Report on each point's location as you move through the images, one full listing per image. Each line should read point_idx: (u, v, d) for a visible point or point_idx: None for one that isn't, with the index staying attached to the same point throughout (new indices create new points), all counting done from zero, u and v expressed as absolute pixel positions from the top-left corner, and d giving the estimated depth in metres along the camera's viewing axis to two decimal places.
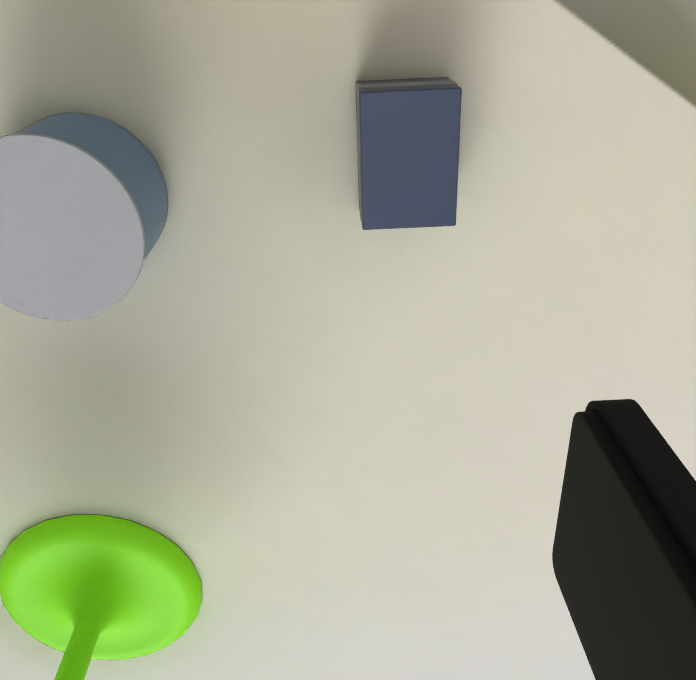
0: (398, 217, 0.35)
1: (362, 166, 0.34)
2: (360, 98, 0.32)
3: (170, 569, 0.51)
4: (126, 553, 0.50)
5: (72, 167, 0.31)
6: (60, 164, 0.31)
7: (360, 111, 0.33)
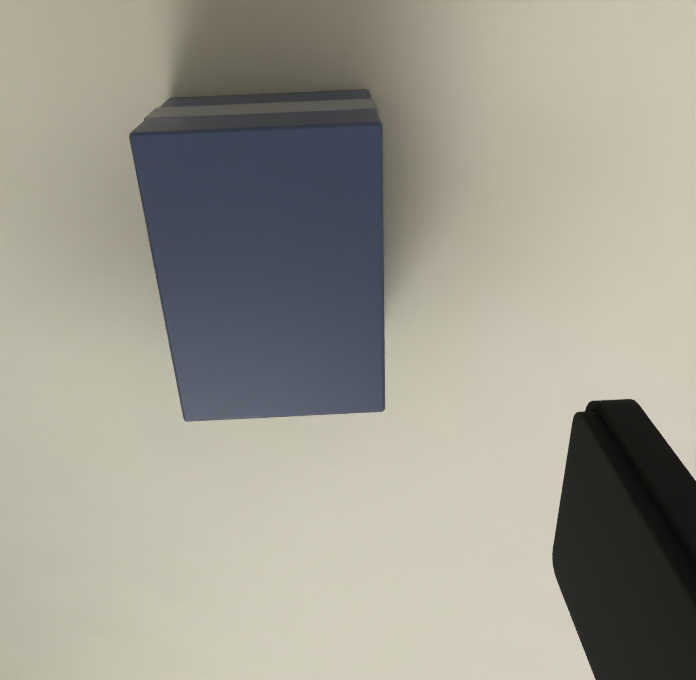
0: (257, 398, 0.16)
1: (162, 298, 0.15)
2: (133, 148, 0.13)
3: None
4: None
5: None
6: None
7: (138, 178, 0.13)
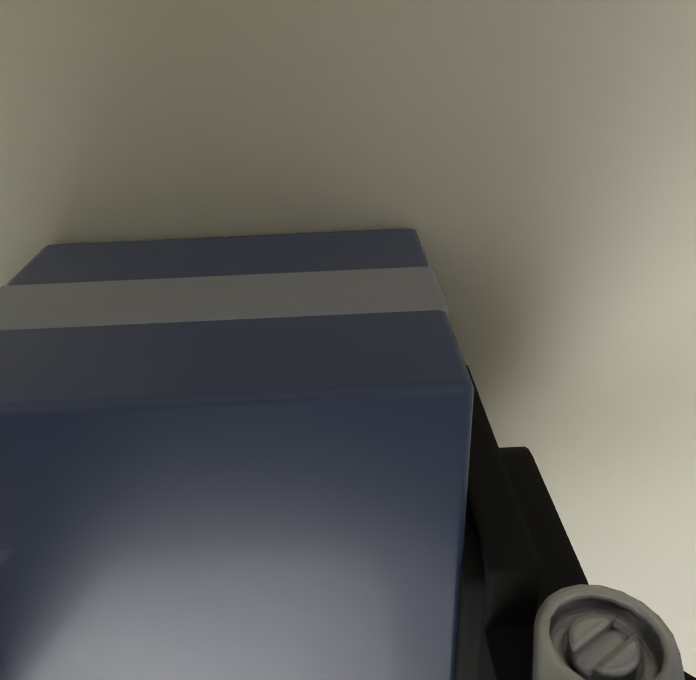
0: None
1: None
2: None
3: None
4: None
5: None
6: None
7: None
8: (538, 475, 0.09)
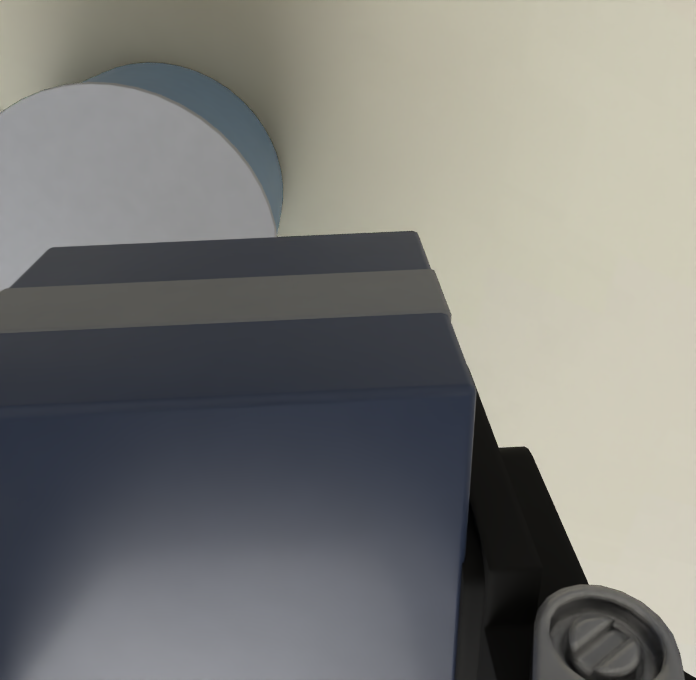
0: None
1: None
2: None
3: None
4: None
5: (173, 141, 0.18)
6: (154, 136, 0.18)
7: None
8: (538, 475, 0.09)
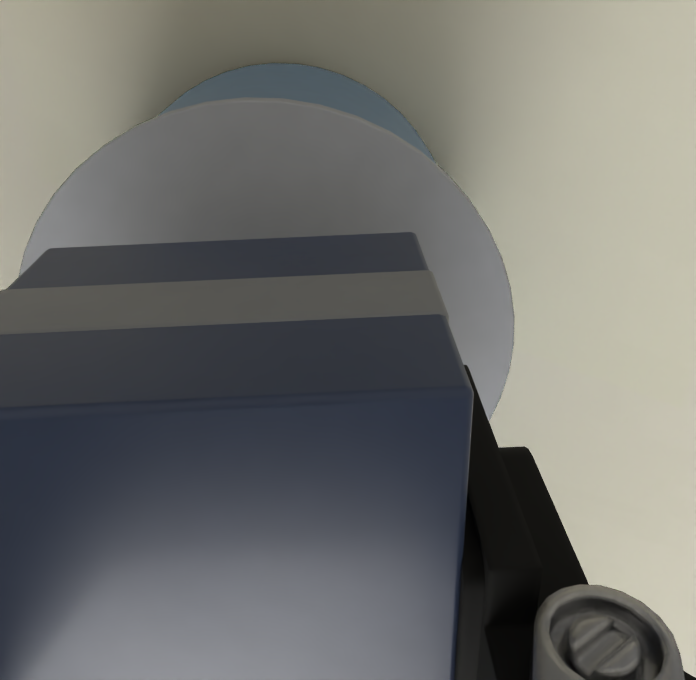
0: None
1: None
2: None
3: None
4: None
5: (374, 191, 0.11)
6: (343, 183, 0.11)
7: None
8: (538, 475, 0.09)
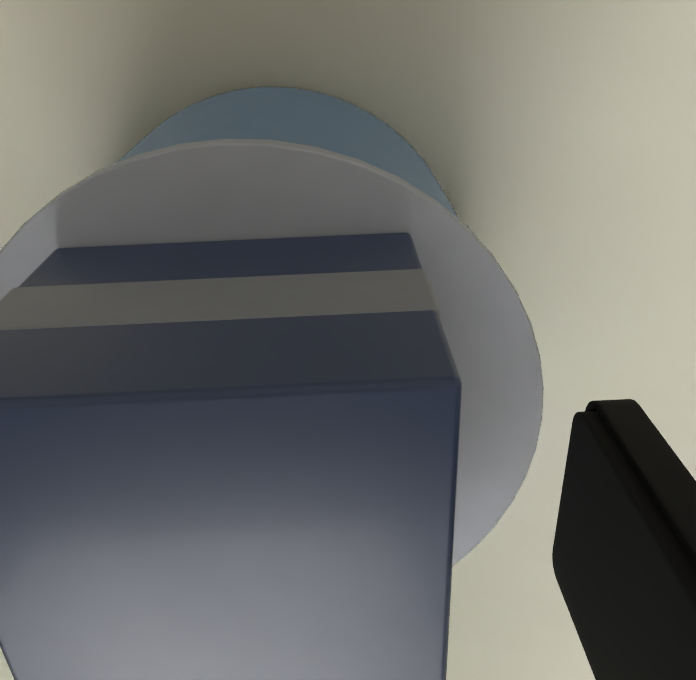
0: None
1: (13, 672, 0.07)
2: None
3: None
4: None
5: None
6: None
7: None
8: None
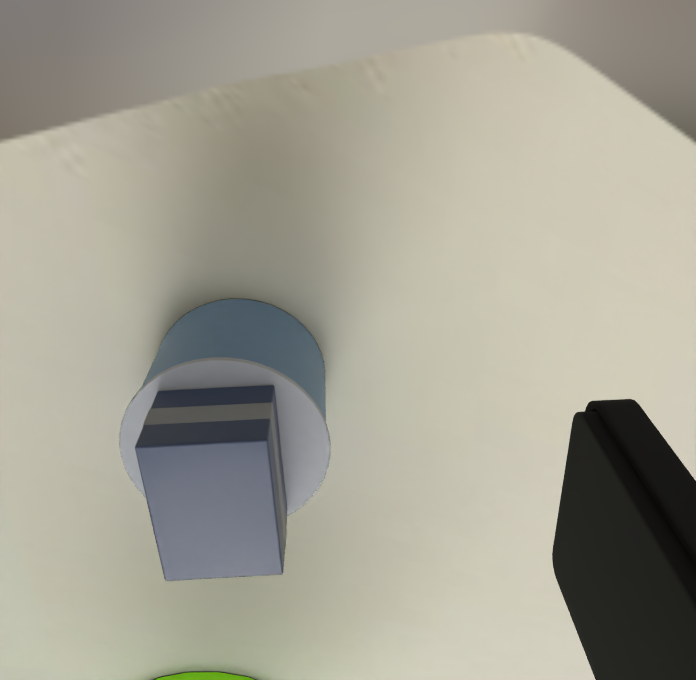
0: (207, 568, 0.28)
1: (152, 520, 0.26)
2: (136, 453, 0.25)
3: None
4: None
5: None
6: None
7: (139, 465, 0.25)
8: None
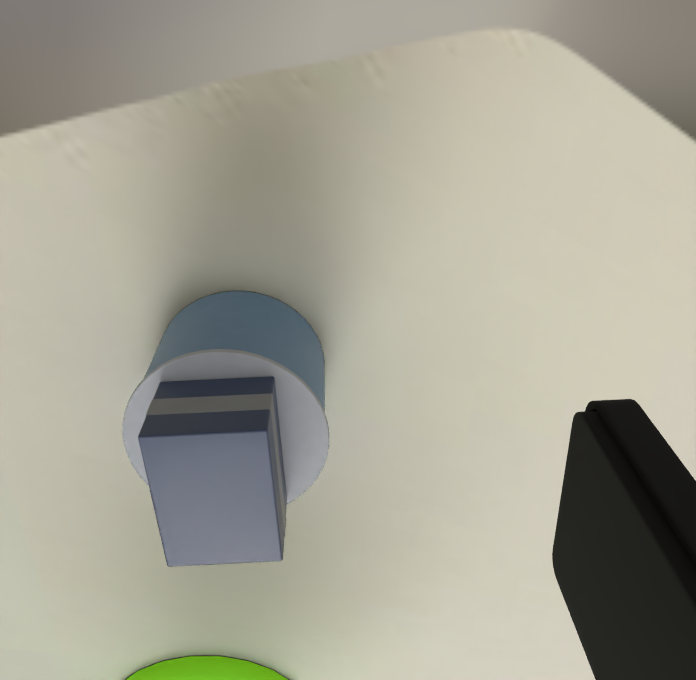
0: (209, 555, 0.28)
1: (155, 507, 0.27)
2: (139, 442, 0.26)
3: None
4: None
5: None
6: None
7: (142, 454, 0.26)
8: None
